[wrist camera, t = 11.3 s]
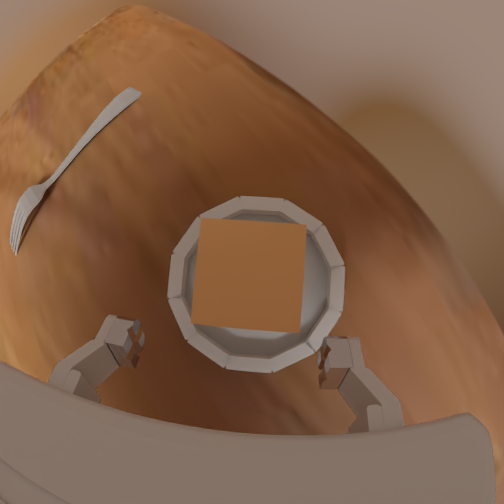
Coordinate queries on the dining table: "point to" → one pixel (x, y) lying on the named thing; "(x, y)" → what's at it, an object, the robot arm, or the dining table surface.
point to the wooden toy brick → (249, 275)
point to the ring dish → (257, 341)
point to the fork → (67, 162)
